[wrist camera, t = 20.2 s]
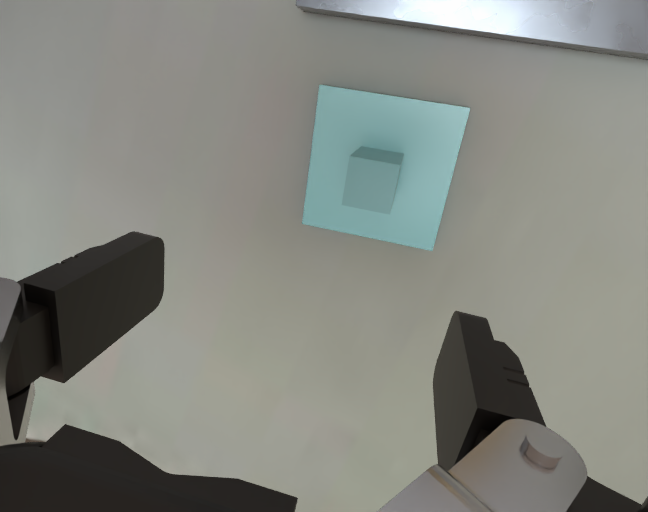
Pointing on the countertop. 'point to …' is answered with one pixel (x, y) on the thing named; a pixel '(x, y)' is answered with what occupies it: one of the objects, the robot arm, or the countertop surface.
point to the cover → (382, 165)
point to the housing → (513, 20)
